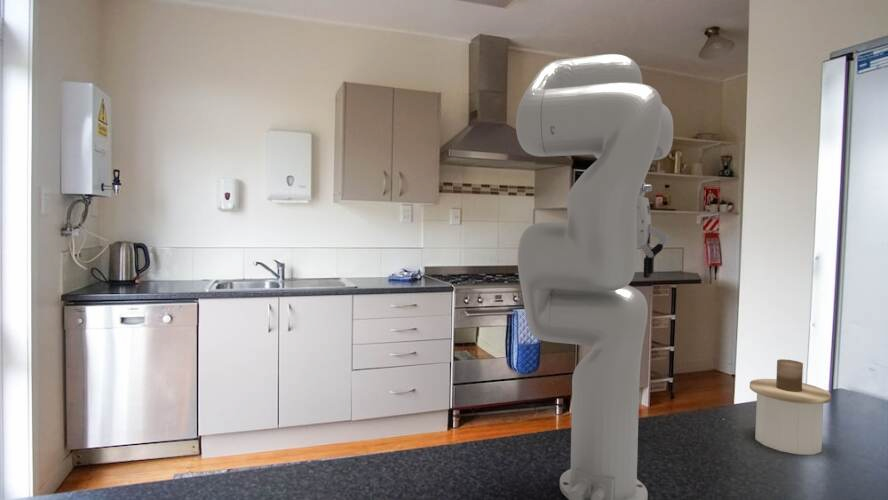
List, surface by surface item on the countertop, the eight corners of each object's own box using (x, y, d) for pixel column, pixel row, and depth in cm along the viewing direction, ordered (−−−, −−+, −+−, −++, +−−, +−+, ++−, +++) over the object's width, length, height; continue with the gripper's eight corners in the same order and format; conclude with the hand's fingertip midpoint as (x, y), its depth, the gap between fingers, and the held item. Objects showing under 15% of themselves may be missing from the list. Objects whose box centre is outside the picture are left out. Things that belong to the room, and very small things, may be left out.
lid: (834, 409, 87) (836, 375, 87) (748, 395, 94) (749, 364, 94) (827, 390, 98) (828, 359, 98) (750, 379, 105) (751, 351, 105)
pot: (823, 459, 89) (825, 405, 89) (754, 445, 95) (756, 395, 95) (818, 439, 98) (820, 390, 98) (756, 428, 103) (757, 381, 103)
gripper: (673, 191, 102) (671, 277, 103) (587, 193, 111) (585, 272, 112) (667, 188, 96) (664, 280, 96) (575, 191, 105) (574, 274, 106)
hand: (621, 276), depth 104 cm, fingers open, 9 cm apart
